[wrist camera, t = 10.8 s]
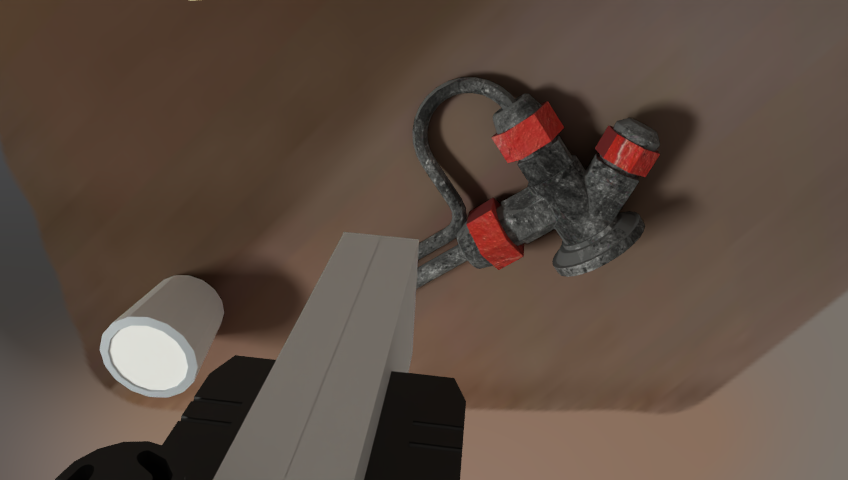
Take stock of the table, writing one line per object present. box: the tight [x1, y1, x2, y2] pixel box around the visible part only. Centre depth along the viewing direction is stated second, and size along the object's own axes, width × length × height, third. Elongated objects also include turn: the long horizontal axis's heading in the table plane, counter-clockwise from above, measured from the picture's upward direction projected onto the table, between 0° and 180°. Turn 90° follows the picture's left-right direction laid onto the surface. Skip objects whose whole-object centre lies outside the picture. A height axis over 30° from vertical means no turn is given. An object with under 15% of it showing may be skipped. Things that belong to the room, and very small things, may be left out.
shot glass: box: [100, 275, 224, 397], centre depth 48 cm, size 7×7×7 cm
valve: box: [413, 77, 660, 289], centre depth 44 cm, size 6×26×15 cm
